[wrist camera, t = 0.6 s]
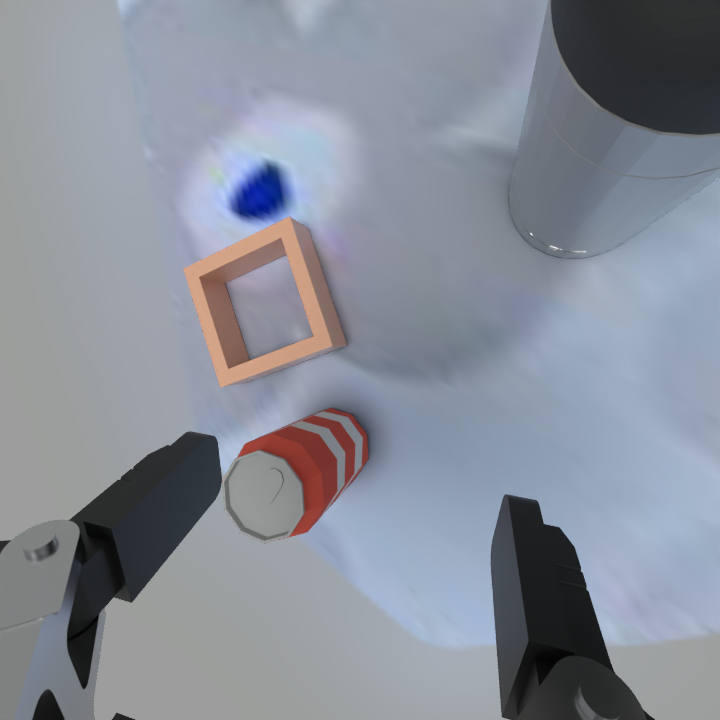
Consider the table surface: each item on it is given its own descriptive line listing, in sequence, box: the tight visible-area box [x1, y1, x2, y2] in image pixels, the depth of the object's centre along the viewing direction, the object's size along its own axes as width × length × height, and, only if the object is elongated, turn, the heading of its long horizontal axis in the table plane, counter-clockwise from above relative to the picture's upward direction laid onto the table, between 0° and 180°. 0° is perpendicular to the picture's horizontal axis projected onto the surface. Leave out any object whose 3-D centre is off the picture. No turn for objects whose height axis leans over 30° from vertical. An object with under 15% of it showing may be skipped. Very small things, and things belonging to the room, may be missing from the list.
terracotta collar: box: [184, 217, 347, 387], centre depth 33 cm, size 10×10×4 cm
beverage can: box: [222, 408, 369, 543], centre depth 28 cm, size 6×6×12 cm
